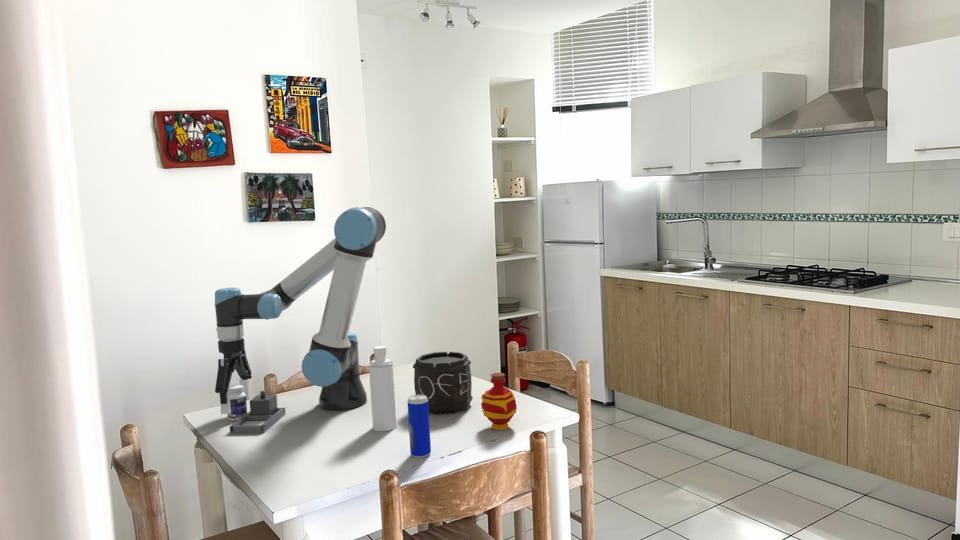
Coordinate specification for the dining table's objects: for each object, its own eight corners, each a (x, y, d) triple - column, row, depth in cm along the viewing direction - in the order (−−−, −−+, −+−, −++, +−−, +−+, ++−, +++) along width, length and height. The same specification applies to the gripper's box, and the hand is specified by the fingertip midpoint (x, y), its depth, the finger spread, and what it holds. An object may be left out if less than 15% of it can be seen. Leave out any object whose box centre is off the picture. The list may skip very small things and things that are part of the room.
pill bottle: (241, 421, 208) (238, 389, 207) (224, 421, 209) (221, 389, 208) (251, 415, 213) (248, 384, 212) (234, 415, 214) (231, 384, 213)
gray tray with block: (285, 414, 213) (283, 387, 212) (263, 433, 196) (261, 403, 195) (254, 414, 214) (252, 387, 213) (230, 433, 197) (227, 404, 196)
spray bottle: (390, 432, 192) (385, 344, 189) (369, 430, 194) (363, 344, 191) (400, 424, 198) (395, 339, 196) (379, 423, 200) (373, 339, 197)
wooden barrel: (440, 420, 200) (437, 368, 198) (404, 408, 213) (401, 358, 212) (485, 406, 212) (483, 356, 210) (449, 395, 225) (447, 348, 223)
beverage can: (410, 451, 176) (407, 395, 175) (430, 450, 177) (427, 393, 175) (410, 459, 171) (407, 400, 170) (431, 457, 172) (427, 399, 170)
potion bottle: (522, 421, 195) (520, 370, 194) (512, 434, 186) (510, 380, 184) (487, 419, 199) (485, 368, 197) (476, 431, 189) (473, 378, 187)
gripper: (236, 330, 221) (241, 394, 223) (199, 348, 196) (204, 419, 199) (259, 330, 220) (263, 394, 223) (224, 347, 196) (229, 419, 198)
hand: (236, 406), depth 211 cm, fingers open, 13 cm apart
